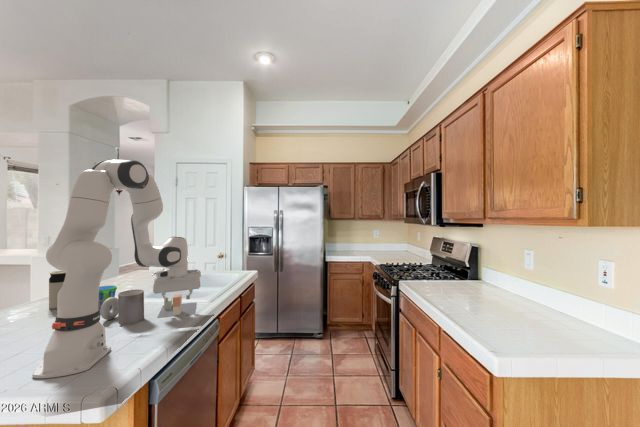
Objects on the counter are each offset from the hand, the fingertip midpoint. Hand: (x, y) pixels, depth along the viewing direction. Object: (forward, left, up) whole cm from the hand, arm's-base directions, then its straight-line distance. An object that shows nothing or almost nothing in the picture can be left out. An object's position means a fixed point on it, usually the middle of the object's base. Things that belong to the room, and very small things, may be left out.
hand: (177, 300), depth 144 cm
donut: (+5, +28, -8) cm, 29 cm away
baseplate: (+6, 0, -7) cm, 9 cm away
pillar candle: (-4, +18, -8) cm, 20 cm away
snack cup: (+26, +36, -8) cm, 45 cm away
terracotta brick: (0, 0, -2) cm, 2 cm away
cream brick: (0, 0, -6) cm, 6 cm away
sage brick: (+11, +5, -6) cm, 14 cm away
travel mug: (+35, +58, -8) cm, 68 cm away
